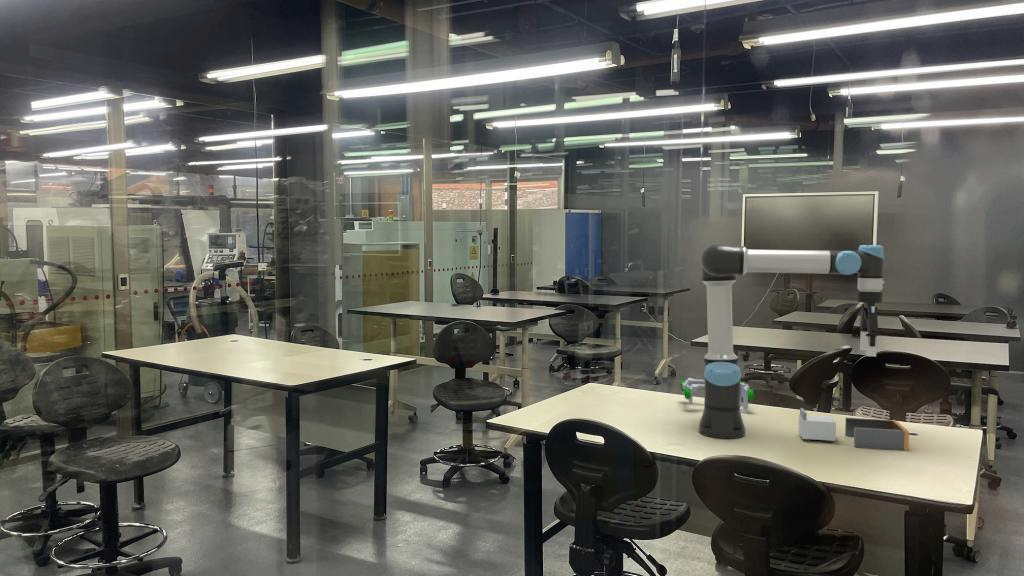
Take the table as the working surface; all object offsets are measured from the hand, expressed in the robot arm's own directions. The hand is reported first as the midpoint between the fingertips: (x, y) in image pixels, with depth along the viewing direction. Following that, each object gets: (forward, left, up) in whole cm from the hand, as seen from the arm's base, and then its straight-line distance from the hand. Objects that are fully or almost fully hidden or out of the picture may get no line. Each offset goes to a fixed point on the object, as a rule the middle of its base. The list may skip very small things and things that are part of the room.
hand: (867, 353), depth 231 cm
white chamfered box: (-18, -13, -27) cm, 35 cm away
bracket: (-49, +25, -28) cm, 61 cm away
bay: (-1, -13, -27) cm, 30 cm away
